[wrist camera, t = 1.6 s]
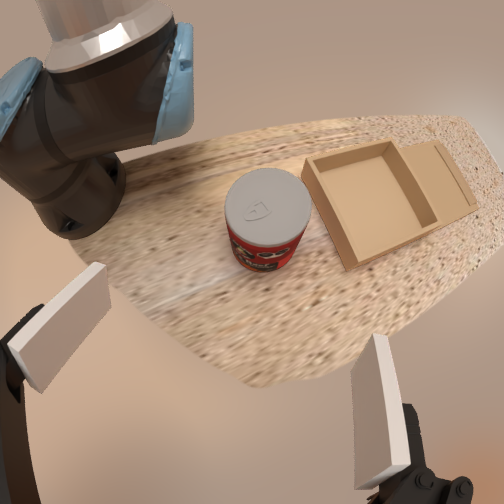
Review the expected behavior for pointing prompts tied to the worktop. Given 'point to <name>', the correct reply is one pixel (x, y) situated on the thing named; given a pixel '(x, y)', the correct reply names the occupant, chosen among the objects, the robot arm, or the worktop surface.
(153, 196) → the worktop surface
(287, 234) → the canned food
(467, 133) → the worktop surface
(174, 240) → the worktop surface
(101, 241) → the worktop surface
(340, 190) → the mailer box
